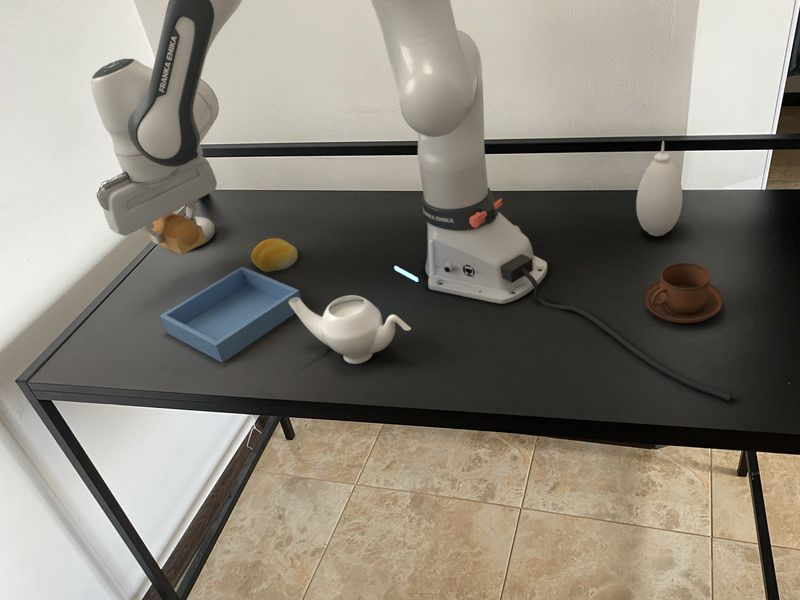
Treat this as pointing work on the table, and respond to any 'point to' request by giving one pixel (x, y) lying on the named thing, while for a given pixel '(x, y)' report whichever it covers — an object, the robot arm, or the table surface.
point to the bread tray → (230, 313)
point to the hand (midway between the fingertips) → (176, 233)
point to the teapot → (350, 327)
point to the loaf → (179, 233)
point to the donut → (206, 227)
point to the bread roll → (274, 255)
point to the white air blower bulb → (659, 196)
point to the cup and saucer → (684, 294)
